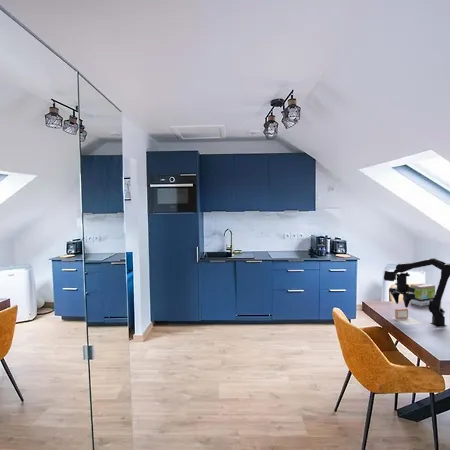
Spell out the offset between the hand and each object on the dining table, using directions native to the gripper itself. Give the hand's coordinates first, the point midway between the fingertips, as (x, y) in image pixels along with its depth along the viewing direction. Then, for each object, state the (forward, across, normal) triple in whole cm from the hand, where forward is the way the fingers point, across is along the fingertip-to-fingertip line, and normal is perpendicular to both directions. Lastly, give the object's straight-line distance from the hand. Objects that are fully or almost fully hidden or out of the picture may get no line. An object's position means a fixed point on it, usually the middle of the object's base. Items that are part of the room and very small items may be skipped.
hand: (401, 305), depth 210 cm
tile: (+8, 0, 0) cm, 9 cm away
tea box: (+9, +30, -39) cm, 50 cm away
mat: (+9, -5, 0) cm, 10 cm away
